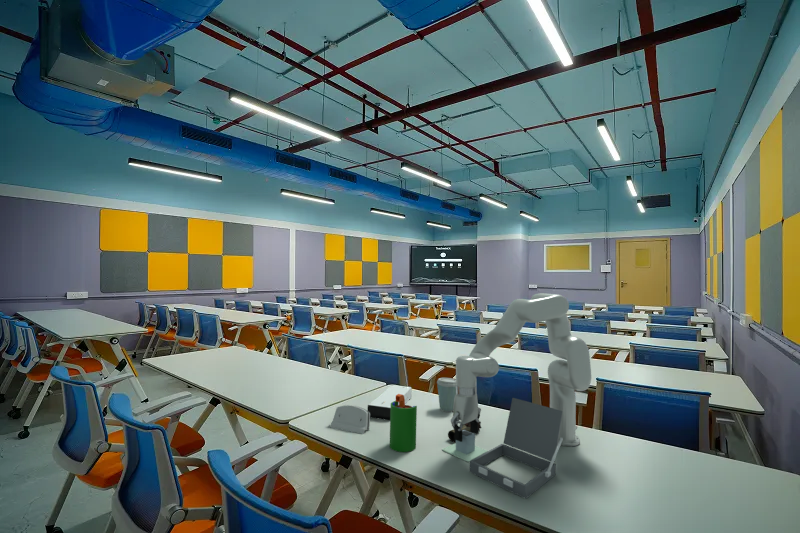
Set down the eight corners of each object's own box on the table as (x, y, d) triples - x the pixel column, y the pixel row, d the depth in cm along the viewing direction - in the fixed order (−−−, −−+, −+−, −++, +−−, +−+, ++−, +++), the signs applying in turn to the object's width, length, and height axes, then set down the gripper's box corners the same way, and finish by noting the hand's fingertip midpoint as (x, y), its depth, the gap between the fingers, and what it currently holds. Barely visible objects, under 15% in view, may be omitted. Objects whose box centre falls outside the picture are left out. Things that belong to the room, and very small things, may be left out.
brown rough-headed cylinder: (457, 444, 144) (457, 429, 144) (443, 439, 149) (443, 424, 149) (483, 432, 156) (483, 418, 156) (470, 427, 161) (470, 414, 161)
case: (506, 450, 139) (506, 419, 140) (563, 472, 124) (563, 437, 124) (468, 472, 123) (468, 437, 123) (528, 501, 108) (528, 460, 108)
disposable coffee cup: (443, 404, 189) (443, 374, 189) (462, 409, 182) (462, 378, 183) (432, 410, 180) (432, 379, 181) (452, 415, 174) (452, 383, 174)
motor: (419, 444, 143) (420, 392, 143) (409, 454, 135) (410, 398, 135) (395, 439, 147) (396, 388, 148) (384, 448, 139) (386, 394, 139)
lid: (503, 443, 137) (504, 443, 137) (553, 462, 123) (554, 462, 124) (512, 397, 141) (513, 397, 142) (562, 411, 128) (563, 411, 128)
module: (463, 445, 142) (464, 429, 142) (474, 450, 138) (474, 433, 138) (455, 449, 138) (455, 432, 138) (466, 454, 135) (466, 436, 135)
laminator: (390, 422, 166) (390, 407, 166) (364, 418, 170) (365, 404, 170) (411, 398, 198) (411, 387, 198) (389, 396, 202) (389, 384, 202)
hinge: (329, 427, 158) (334, 402, 161) (335, 427, 162) (339, 403, 165) (364, 434, 151) (368, 408, 155) (369, 434, 155) (373, 408, 159)
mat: (461, 441, 147) (461, 440, 147) (487, 451, 138) (487, 450, 138) (442, 450, 138) (442, 449, 138) (468, 462, 130) (468, 461, 130)
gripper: (471, 383, 147) (471, 427, 147) (443, 393, 136) (443, 440, 135) (487, 387, 142) (488, 432, 142) (460, 397, 130) (460, 447, 130)
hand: (466, 436), depth 138 cm, fingers open, 9 cm apart
